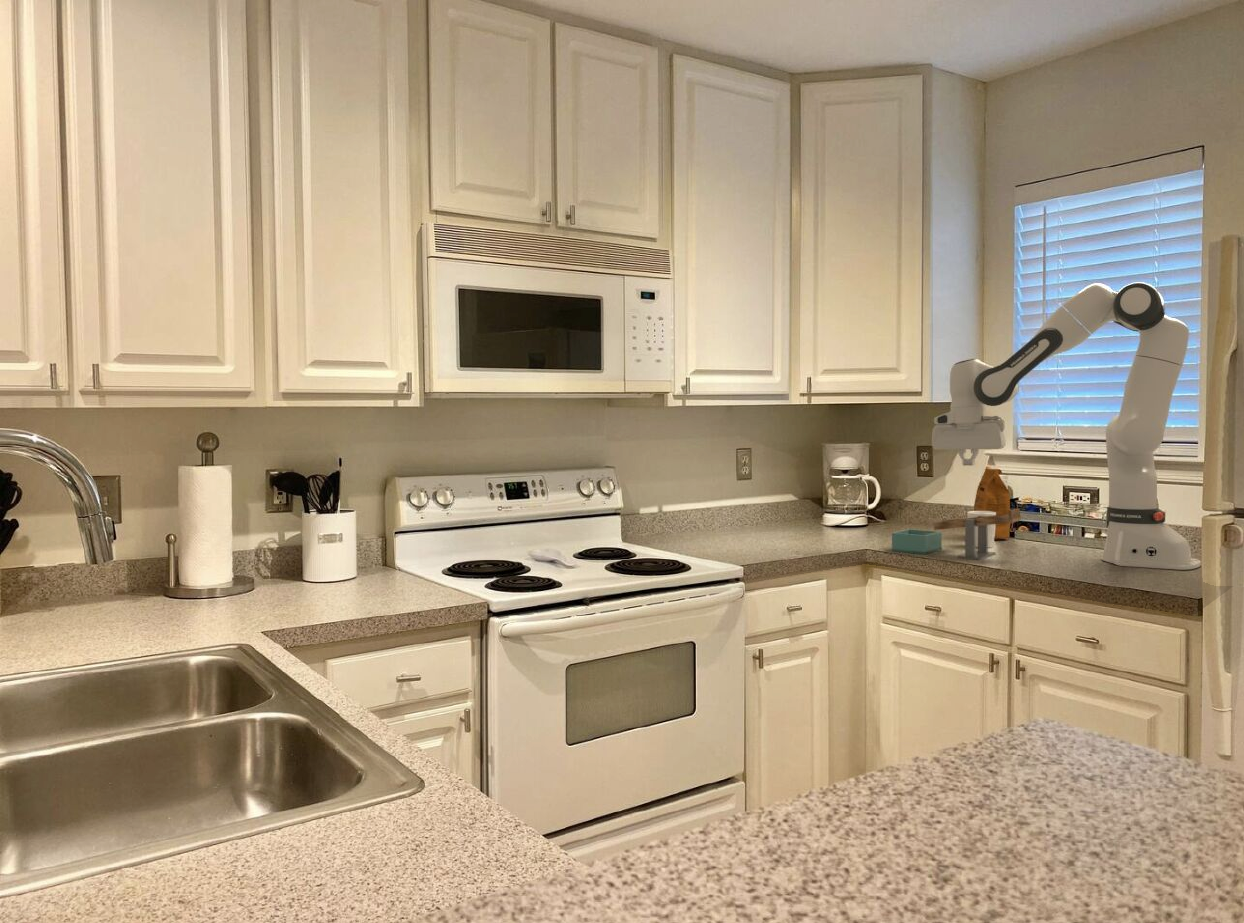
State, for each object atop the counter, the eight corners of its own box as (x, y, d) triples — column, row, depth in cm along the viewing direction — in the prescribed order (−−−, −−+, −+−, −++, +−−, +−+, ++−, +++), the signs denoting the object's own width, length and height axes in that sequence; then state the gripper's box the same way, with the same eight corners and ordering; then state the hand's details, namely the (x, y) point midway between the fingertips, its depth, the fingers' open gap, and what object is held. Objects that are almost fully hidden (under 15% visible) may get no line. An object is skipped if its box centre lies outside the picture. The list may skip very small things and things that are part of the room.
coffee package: (1002, 535, 299) (1002, 465, 298) (1013, 541, 287) (1013, 468, 286) (969, 535, 301) (969, 466, 299) (979, 541, 288) (979, 469, 287)
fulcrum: (995, 554, 263) (995, 516, 263) (979, 559, 255) (979, 520, 255) (974, 552, 267) (974, 515, 267) (957, 557, 259) (957, 519, 259)
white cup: (1000, 548, 275) (1000, 513, 274) (972, 548, 275) (972, 514, 274) (990, 543, 282) (990, 510, 282) (963, 544, 283) (963, 511, 282)
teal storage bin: (941, 549, 274) (941, 531, 273) (925, 554, 266) (925, 535, 266) (908, 546, 281) (908, 528, 280) (892, 550, 273) (891, 532, 273)
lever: (1030, 518, 260) (1028, 506, 260) (1012, 523, 251) (1010, 510, 251) (953, 525, 275) (951, 514, 275) (934, 530, 266) (932, 518, 266)
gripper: (1008, 415, 265) (1009, 464, 266) (937, 417, 279) (939, 464, 279) (999, 416, 260) (1001, 466, 261) (928, 418, 274) (930, 466, 275)
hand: (968, 465), depth 270 cm, fingers closed
